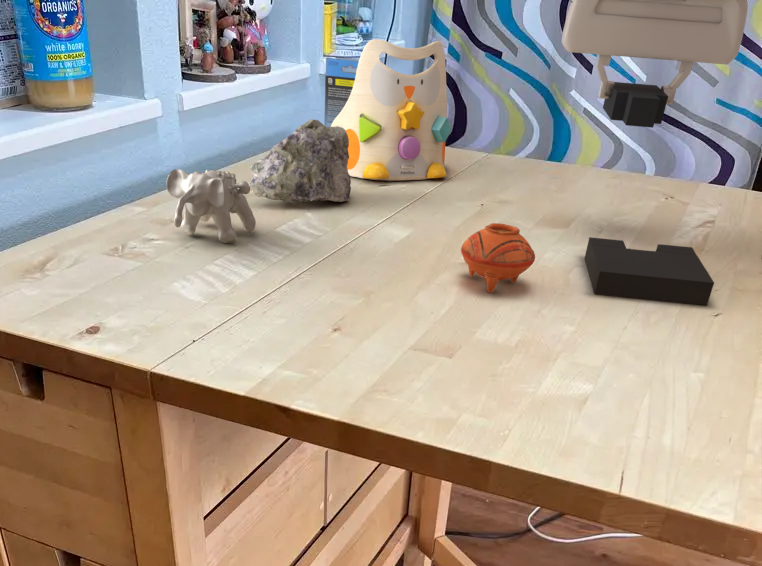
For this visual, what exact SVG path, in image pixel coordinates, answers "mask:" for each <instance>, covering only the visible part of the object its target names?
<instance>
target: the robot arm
mask: <svg viewBox="0 0 762 566" xmlns="http://www.w3.org/2000/svg"><path fill="white" fill-rule="evenodd" d="M569 1H570V5H569V6H568V7H569V8H568V11H567V14H566V18H565V22H564V26H563V28H562V29H563V30H562V35H561V45H562V46H563V48H564V49H565V51H566V52H568V53H577V54H588V55H596V58H595V66H596V67H595V68H596V70H597V75H598V77H599V80H600V84H599V89H598V92H597V93H598V94H597V97H598V99H603V100H605V99H611V97H612V91H613V88H614V85H615V83H614V82H615V81H613V80H609V79H608V76H607V71H606V70H605V67H609V66H610V64H611V59H612V56H614V57H624V58H625V57H626V58H637V59H639V58H640V59H652V60H663V61H676V66H675V70H677V71H678V72H677V74H676V75H675V76H674V78H673V79H672V80H671V81H670V83H669V84H668V85H665V84H661V87H660V89H661V90H662V91H663V92H664V93H665V94H667V95H668V100H667V103H666V105H673V103H674V100H675V96H676V92H677V89H679V88H680V87H681V85H682V84H683V83H684V81H686V79H687V78H688V77H689V75H690V74H691V72H692V69H693V65H694V63H702V64H714V65H730V63H731V62H732V61H733V60H735V58H736V57H737V56H738V54H739V51H740V49H741V45H742V41H743V36H744V33H745V27H746V23H747V16H748V10H749V9H748V8H749V7H748V6H749V4H748V0H569Z"/></svg>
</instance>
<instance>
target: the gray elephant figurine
mask: <svg viewBox="0 0 762 566" xmlns="http://www.w3.org/2000/svg"><path fill="white" fill-rule="evenodd" d="M166 190H167V192H168V194H169V195H170V196H172V197H173V198H175V199H179V200H178V202H177V205H176V208H175V213H174V219H173V222H174V226H175V227H176V228H181V229H182V231H183V232H184V233H185V234H187V235H190V236H191V235H194V233H196V230H197V225H198V224H199V222H202V223H206V222H209V221H210V220H211V218H212V220H213V222H214V224H215V226H216V228H217V231H218V233H217V238H218V240H219V241H220V242H222V244H223V243H224V244H231V243H233V242H235V241H236V239H237V236H238V235H237V233H236V231H235V230H234V227H233V224H232V218H231V214H236V215H237V216H238V217H239V219H240V222H241V223H242V227H243V228H244V230H245V231H246V232H247V233H253V232H254V231H255V228H256V223H257V222H256V218H255V216H254V214H253V211H252V208H251V207H250V205H249V202H248V200H247V198H246V196H245V195H248V194H249V193H250V192H251V188H250V183H248V181H246V180H245V181H243V180H242V181H240V183H237V178H236V174H235V173H231V172H230V171H225V170H211V169H206V170H205V171H204V172H203V173H202V172H200V171H198V170H196V171H194V172H191V173H188V172H187V171H185V170H183V169H180V168H176V169H175V168H174V169H173V170H171V171H170V173H169V174H168V176H167V179H166Z"/></svg>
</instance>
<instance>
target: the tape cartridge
mask: <svg viewBox="0 0 762 566" xmlns="http://www.w3.org/2000/svg"><path fill="white" fill-rule="evenodd" d="M358 63H359V60H355V59H344V58H333V57H325V76H324V82H325V83H324V120H323V121H324V123H323V125H324V126H326V127H331V125H332V123H333V121H334V120H335V118H336V117H337V116H338V115H339V113H340V112H341V111H342V109H343V108H344V106H345V104H346V103H347V101H348V99H349V96H350V94H351V91H352V89H353V85H354V82H355V77H356V72H355V71H354V72H352V71H343V69H344V68H345V69H348V68H349V67H351V68H352V69H356V70H357V67H358ZM361 117H365V116H364V114H362V115H361Z"/></svg>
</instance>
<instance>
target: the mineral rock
mask: <svg viewBox="0 0 762 566" xmlns="http://www.w3.org/2000/svg"><path fill="white" fill-rule="evenodd" d="M348 146H349V139H348V135H347V133H346V131H345V129H344V128H342V127H339V126H336V127H326V126H324V123H322V122H321V121H320V120H319V119H313V118H312V119H308V120H307V121H305V122H304V123H303V124H300V125H299V126H298V127H297V128H296V129H295V130H294V131H293V132H292V134H290V135H288V136H287V137H285V138H283V139H282V140H280V141H279V142H277V143H276V144H274V145H273V146H272V147H271V149H270V150H269V151H268V152H267V153H266V154H265V155H264V157H263V158H260V159H258V160H257V161H255V162H254V163H252V164H251V165H250V172H251V173H252V177H251V178H252V179H251V182H250V183H249V186H250V191H251V192H252V194H253V195H254V196H256V197H258V198H266V199H269V200H274V201H281V202H286V203H295V204H304V203H307V202H312V201H331V202H333V203H335V202H337V203H343V202H348V201H349V200H350V198H351V192H352V187H351V184H352V181H351V176H350V175H349V174H348V169H347V166H348V159H349V152H348Z"/></svg>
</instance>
